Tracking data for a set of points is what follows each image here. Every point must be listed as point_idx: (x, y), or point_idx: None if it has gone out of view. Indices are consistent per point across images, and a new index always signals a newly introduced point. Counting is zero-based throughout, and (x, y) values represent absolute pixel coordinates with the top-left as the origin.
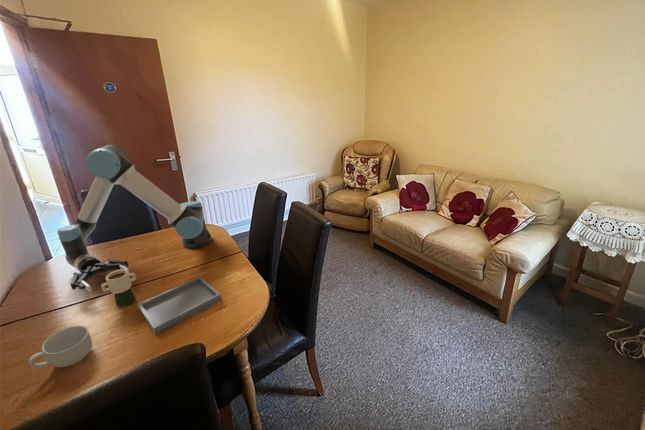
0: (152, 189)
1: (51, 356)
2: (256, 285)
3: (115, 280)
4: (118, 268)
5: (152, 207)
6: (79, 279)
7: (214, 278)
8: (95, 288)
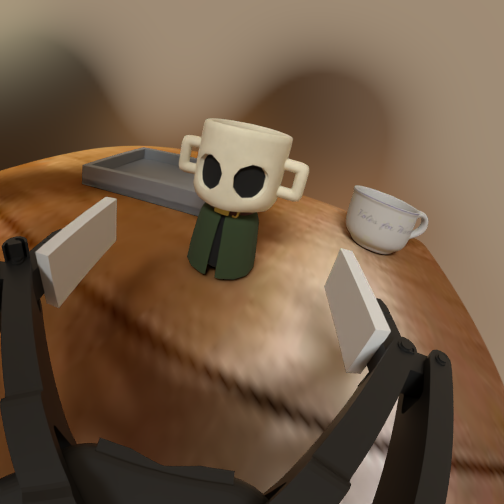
0: None
1: (400, 207)
2: (95, 150)
3: (269, 133)
4: (41, 319)
5: None
6: (400, 377)
7: (67, 176)
8: None
